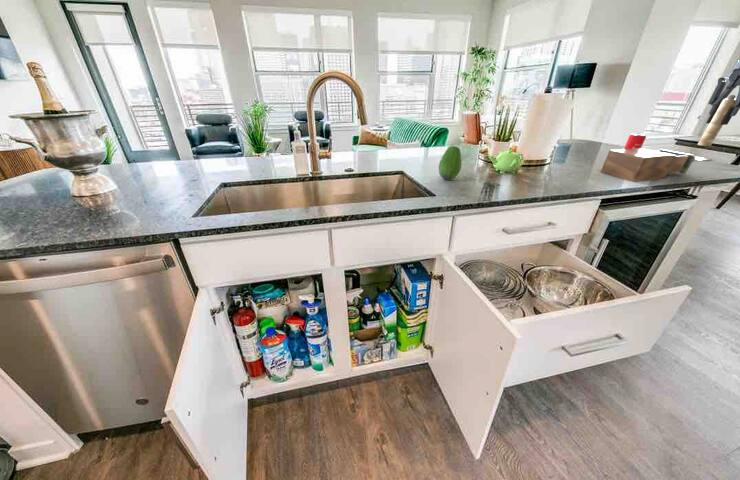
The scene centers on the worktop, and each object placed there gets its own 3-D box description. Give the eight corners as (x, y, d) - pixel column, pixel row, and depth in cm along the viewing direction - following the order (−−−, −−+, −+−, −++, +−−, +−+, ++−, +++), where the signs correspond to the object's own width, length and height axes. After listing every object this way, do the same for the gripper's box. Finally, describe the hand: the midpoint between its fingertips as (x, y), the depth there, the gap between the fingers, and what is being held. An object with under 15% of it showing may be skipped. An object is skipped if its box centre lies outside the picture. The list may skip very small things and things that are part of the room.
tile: (694, 157, 127) (695, 156, 126) (712, 161, 120) (712, 159, 120) (680, 157, 126) (681, 156, 126) (697, 161, 120) (698, 160, 120)
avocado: (459, 183, 97) (464, 148, 91) (436, 181, 99) (440, 147, 93) (459, 176, 103) (464, 143, 97) (438, 175, 105) (441, 143, 99)
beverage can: (631, 163, 119) (645, 133, 113) (634, 165, 115) (648, 135, 109) (616, 161, 121) (629, 132, 115) (618, 164, 117) (631, 134, 111)
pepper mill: (709, 144, 121) (738, 94, 111) (711, 146, 118) (742, 95, 108) (696, 143, 123) (724, 94, 113) (698, 145, 120) (727, 94, 110)
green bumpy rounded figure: (525, 171, 109) (531, 149, 105) (513, 177, 102) (519, 154, 98) (497, 166, 116) (501, 145, 112) (485, 171, 109) (489, 150, 105)
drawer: (661, 165, 112) (670, 148, 109) (695, 172, 102) (705, 154, 99) (626, 168, 109) (634, 150, 105) (657, 176, 99) (667, 157, 96)
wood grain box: (629, 169, 110) (639, 148, 106) (664, 178, 100) (676, 155, 95) (600, 172, 107) (609, 150, 103) (632, 181, 97) (644, 157, 93)
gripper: (718, 59, 111) (685, 121, 122) (781, 55, 96) (737, 126, 108) (731, 59, 112) (697, 121, 124) (795, 56, 98) (750, 126, 109)
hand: (716, 123), depth 116 cm, fingers closed on pepper mill, 4 cm apart
